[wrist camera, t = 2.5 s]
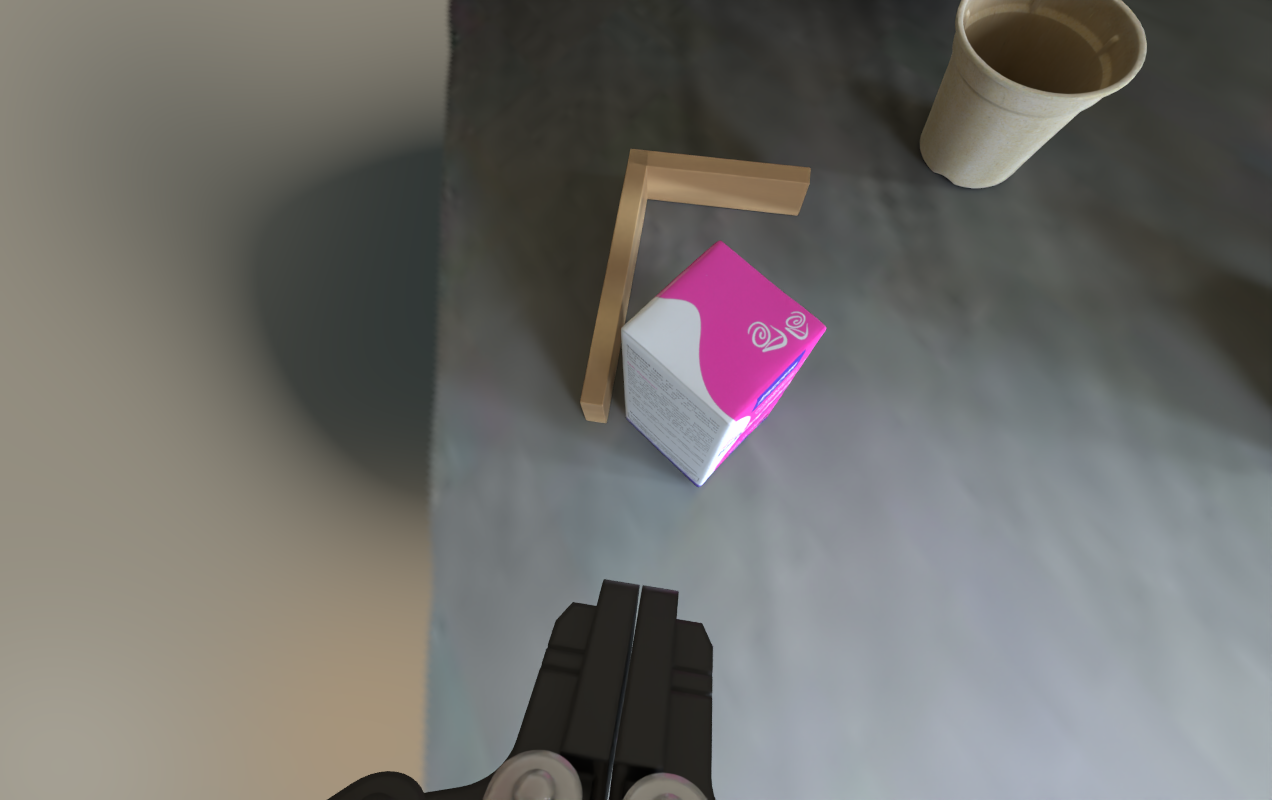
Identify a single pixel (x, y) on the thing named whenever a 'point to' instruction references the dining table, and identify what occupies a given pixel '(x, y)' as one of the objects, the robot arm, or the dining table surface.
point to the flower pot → (1024, 80)
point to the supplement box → (712, 359)
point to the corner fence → (643, 180)
